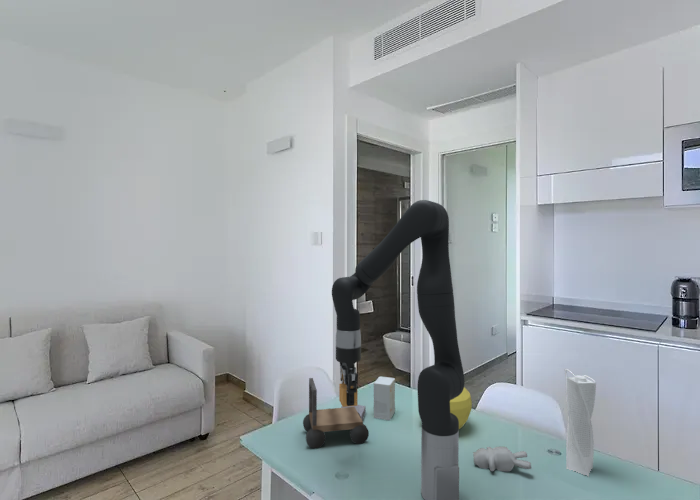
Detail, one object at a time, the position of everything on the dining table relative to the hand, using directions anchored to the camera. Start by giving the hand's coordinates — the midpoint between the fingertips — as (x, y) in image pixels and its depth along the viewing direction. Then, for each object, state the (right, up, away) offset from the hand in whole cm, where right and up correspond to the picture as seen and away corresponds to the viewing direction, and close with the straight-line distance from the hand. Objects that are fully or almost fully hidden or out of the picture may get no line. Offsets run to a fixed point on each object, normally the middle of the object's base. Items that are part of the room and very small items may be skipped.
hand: (348, 401), depth 116 cm
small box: (+13, -17, +31) cm, 38 cm away
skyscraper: (+66, -18, -4) cm, 68 cm away
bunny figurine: (+44, -18, -4) cm, 47 cm away
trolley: (-4, -17, +14) cm, 22 cm away
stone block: (+1, -17, +28) cm, 33 cm away
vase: (+34, -17, +22) cm, 44 cm away
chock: (0, 0, 0) cm, 0 cm away
